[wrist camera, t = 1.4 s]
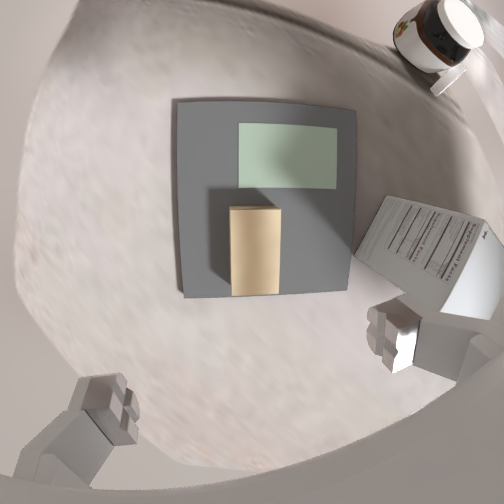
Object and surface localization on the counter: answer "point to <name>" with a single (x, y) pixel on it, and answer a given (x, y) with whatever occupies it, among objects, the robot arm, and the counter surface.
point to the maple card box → (254, 249)
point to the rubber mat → (266, 189)
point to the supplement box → (436, 257)
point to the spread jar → (438, 38)
